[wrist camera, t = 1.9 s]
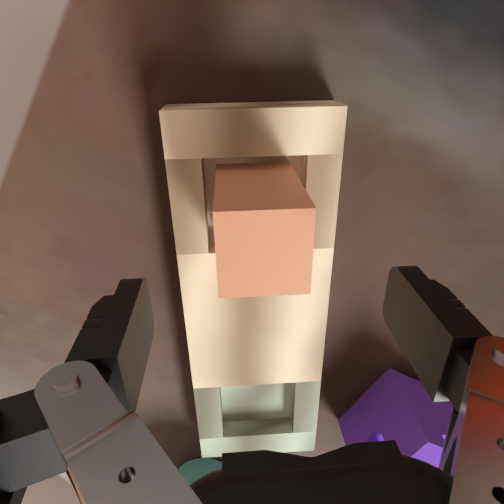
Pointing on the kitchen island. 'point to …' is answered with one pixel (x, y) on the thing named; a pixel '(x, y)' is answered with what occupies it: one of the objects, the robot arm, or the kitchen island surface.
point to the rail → (262, 307)
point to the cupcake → (198, 468)
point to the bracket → (399, 417)
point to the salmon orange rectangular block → (262, 230)
